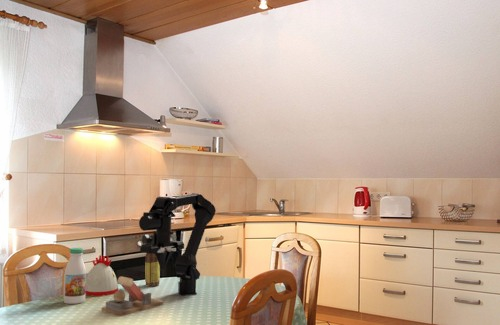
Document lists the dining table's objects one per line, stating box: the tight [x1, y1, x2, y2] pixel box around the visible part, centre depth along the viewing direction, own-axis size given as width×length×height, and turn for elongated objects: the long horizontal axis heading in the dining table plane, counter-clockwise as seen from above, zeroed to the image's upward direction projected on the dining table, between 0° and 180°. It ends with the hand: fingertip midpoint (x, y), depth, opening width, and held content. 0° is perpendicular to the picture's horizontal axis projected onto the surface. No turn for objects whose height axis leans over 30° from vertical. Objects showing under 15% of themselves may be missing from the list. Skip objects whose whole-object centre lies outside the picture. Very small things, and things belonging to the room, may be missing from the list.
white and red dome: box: [85, 254, 119, 297], centre depth 192 cm, size 14×14×15 cm
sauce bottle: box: [144, 253, 161, 287], centre depth 206 cm, size 7×6×20 cm
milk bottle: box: [62, 247, 87, 305], centre depth 176 cm, size 8×8×20 cm
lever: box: [117, 276, 145, 302], centre depth 169 cm, size 3×5×12 cm
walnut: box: [113, 289, 126, 302], centre depth 164 cm, size 4×4×4 cm
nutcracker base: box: [101, 292, 164, 317], centre depth 169 cm, size 20×10×5 cm, turn 145°
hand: (162, 269), depth 181 cm, fingers closed
